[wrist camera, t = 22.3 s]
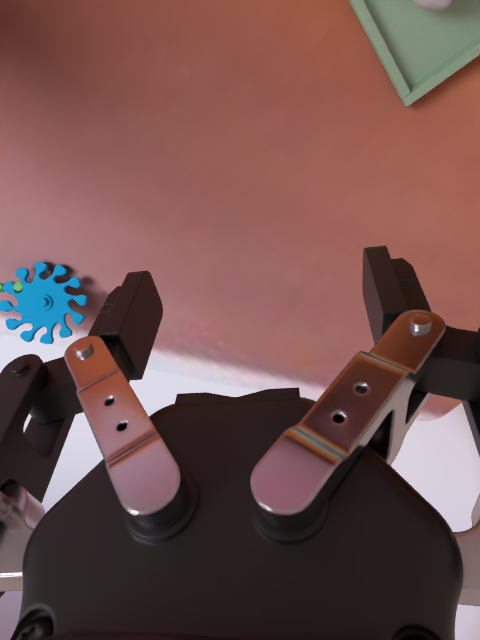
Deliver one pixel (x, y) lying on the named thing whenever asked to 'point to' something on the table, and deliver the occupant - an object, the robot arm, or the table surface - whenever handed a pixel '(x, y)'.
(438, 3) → the white plastic figurine
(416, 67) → the tray
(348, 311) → the table surface
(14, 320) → the blue virus model
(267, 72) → the table surface
